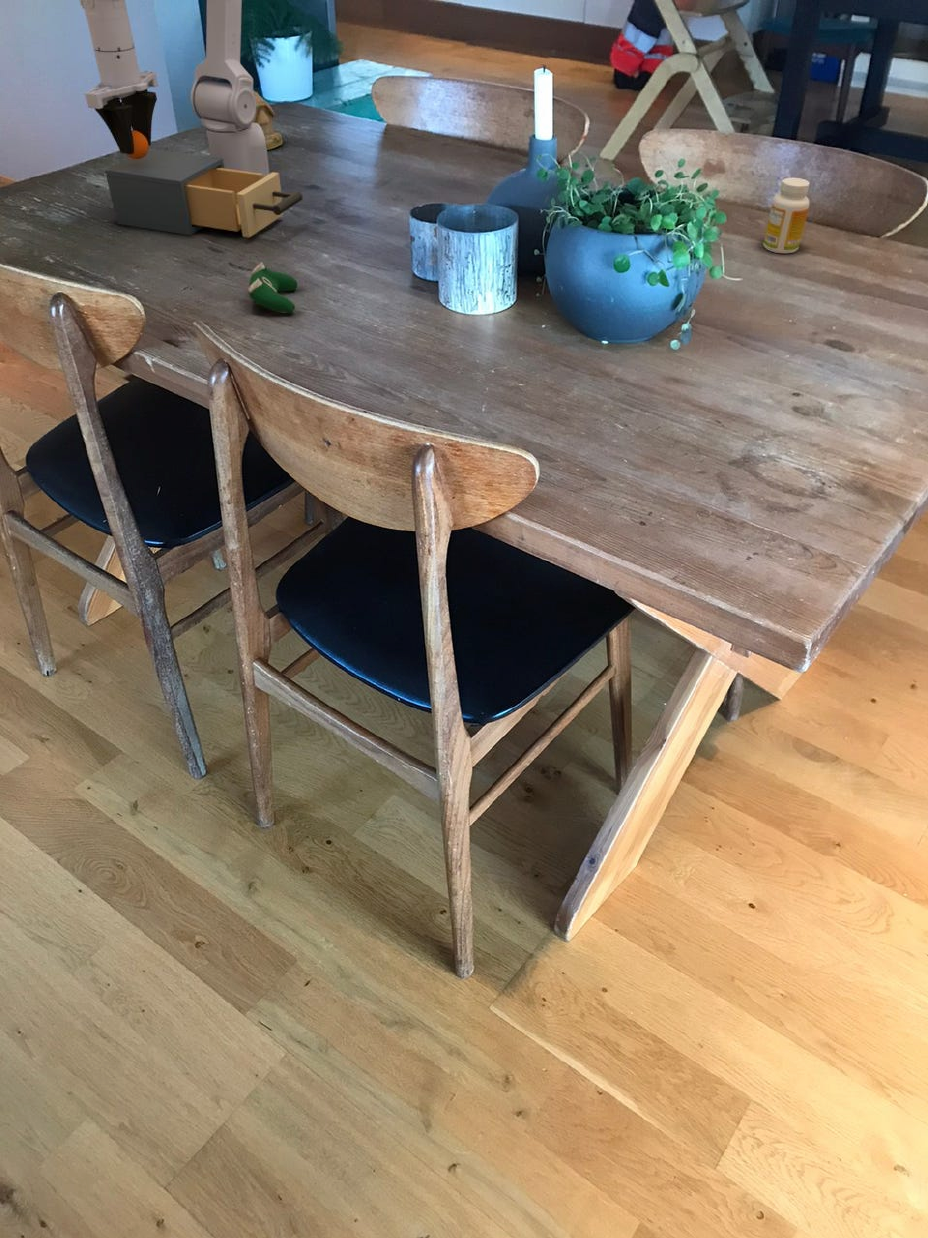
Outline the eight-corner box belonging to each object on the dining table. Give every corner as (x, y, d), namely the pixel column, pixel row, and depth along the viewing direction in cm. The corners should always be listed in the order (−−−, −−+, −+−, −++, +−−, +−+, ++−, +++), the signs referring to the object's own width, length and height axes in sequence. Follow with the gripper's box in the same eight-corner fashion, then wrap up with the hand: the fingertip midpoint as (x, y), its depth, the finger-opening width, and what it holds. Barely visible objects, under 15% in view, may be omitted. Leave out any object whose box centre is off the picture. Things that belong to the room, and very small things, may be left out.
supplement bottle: (799, 243, 145) (816, 177, 138) (796, 256, 141) (813, 189, 134) (764, 239, 146) (779, 173, 140) (760, 251, 142) (775, 184, 136)
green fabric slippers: (283, 300, 132) (248, 271, 129) (300, 280, 130) (265, 251, 127) (279, 329, 125) (242, 299, 122) (296, 309, 123) (260, 278, 120)
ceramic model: (209, 139, 183) (200, 81, 176) (257, 128, 188) (250, 72, 182) (249, 155, 175) (241, 96, 168) (298, 143, 181) (292, 86, 174)
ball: (147, 153, 146) (141, 125, 144) (154, 160, 144) (148, 132, 141) (121, 156, 145) (115, 128, 142) (128, 164, 142) (122, 135, 140)
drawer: (311, 218, 148) (307, 176, 144) (277, 242, 141) (272, 198, 137) (216, 204, 153) (210, 163, 149) (179, 226, 145) (171, 183, 141)
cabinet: (231, 210, 153) (223, 157, 148) (190, 235, 145) (180, 180, 140) (161, 199, 157) (150, 147, 151) (117, 223, 148) (104, 169, 143)
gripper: (105, 60, 128) (128, 165, 137) (166, 40, 138) (184, 138, 147) (63, 56, 130) (89, 159, 139) (126, 35, 140) (146, 133, 149)
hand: (135, 148), depth 143 cm, fingers closed on ball, 4 cm apart
